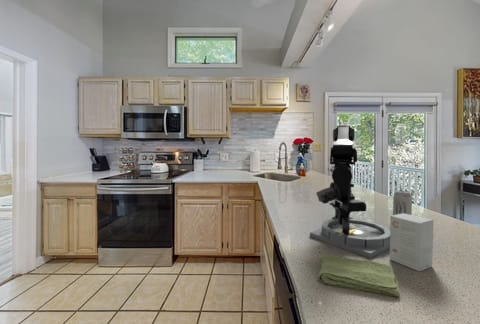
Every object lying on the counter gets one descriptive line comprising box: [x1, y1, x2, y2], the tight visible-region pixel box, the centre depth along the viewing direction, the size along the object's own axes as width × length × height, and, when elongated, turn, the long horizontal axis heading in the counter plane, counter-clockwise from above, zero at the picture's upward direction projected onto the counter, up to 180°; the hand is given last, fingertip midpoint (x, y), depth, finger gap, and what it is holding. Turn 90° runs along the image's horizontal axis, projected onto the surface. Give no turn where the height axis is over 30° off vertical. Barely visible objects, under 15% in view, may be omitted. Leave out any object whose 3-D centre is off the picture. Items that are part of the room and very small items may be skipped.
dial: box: [330, 217, 382, 237], centre depth 87 cm, size 17×17×7 cm
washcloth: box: [317, 254, 401, 297], centre depth 62 cm, size 13×18×3 cm
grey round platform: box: [309, 218, 390, 259], centre depth 87 cm, size 22×22×4 cm
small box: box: [389, 213, 434, 272], centre depth 68 cm, size 8×6×13 cm
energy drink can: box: [392, 190, 413, 215], centre depth 95 cm, size 6×6×15 cm
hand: (341, 224), depth 85 cm, fingers closed
